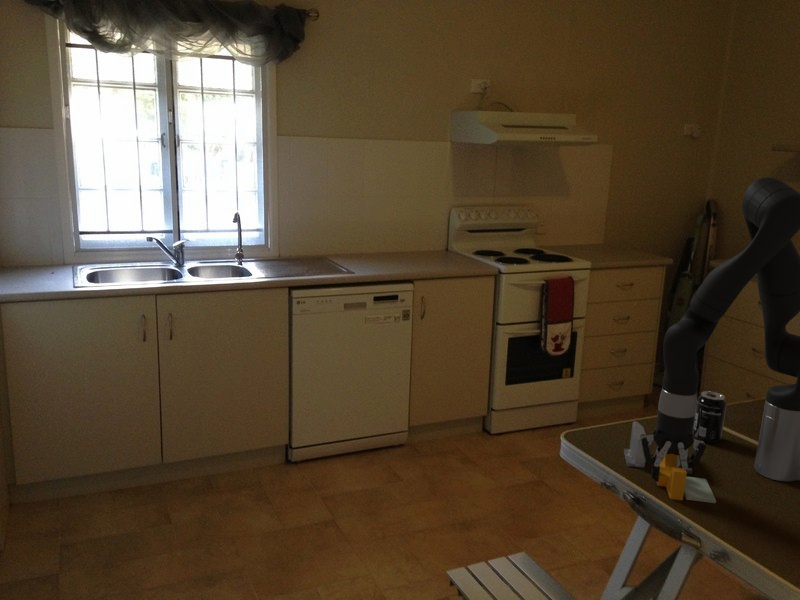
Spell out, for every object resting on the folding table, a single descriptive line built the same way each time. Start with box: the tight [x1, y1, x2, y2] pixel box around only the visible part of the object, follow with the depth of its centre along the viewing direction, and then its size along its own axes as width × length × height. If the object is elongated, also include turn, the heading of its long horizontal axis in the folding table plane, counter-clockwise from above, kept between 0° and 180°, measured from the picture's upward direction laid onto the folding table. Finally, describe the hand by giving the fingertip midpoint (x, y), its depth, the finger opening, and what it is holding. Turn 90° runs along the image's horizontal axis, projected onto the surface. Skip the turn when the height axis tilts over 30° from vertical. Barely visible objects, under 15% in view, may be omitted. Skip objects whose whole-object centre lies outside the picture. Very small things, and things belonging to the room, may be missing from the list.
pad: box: [683, 476, 717, 504], centre depth 158 cm, size 6×10×1 cm, turn 169°
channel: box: [623, 420, 693, 475], centre depth 171 cm, size 14×11×7 cm
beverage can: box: [692, 390, 727, 444], centre depth 184 cm, size 7×7×12 cm
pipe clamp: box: [655, 454, 688, 501], centre depth 159 cm, size 12×4×6 cm, turn 170°
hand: (667, 481), depth 160 cm, fingers closed on pipe clamp, 4 cm apart
